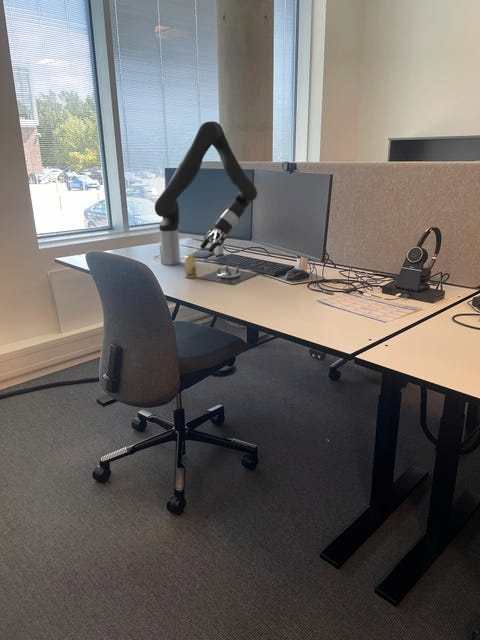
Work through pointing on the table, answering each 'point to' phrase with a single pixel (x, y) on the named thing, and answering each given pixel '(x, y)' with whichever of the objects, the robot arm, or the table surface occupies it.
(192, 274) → the gold upright cylinder
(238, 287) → the table surface
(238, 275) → the flange
